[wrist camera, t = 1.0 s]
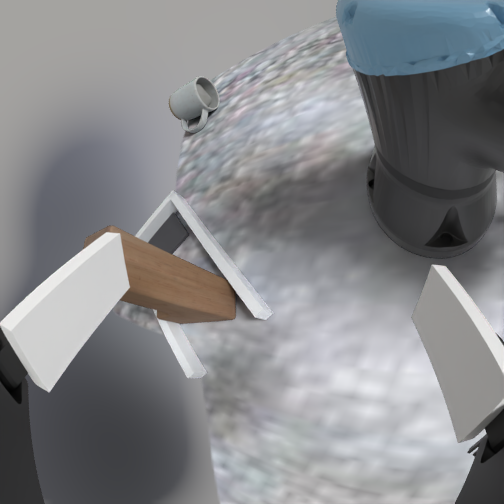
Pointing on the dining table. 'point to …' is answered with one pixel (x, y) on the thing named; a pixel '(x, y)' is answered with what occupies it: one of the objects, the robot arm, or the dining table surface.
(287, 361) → the dining table surface
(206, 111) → the ceramic mug
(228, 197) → the dining table surface
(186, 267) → the wooden block
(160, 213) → the channel
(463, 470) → the dining table surface
